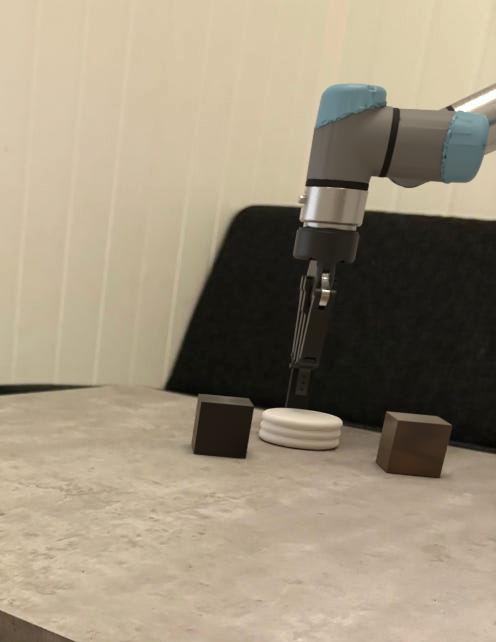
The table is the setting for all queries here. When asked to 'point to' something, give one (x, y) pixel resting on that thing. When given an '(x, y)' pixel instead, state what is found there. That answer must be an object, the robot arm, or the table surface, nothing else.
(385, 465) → the dark brown wooden cube
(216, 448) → the dark brown cube
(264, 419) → the white stacked disc
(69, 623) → the table surface
